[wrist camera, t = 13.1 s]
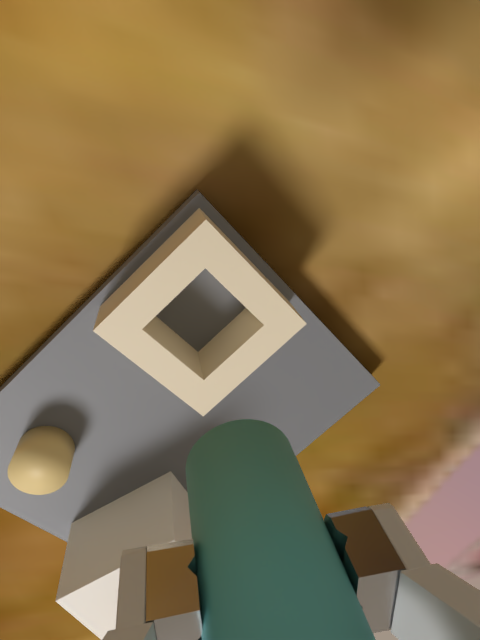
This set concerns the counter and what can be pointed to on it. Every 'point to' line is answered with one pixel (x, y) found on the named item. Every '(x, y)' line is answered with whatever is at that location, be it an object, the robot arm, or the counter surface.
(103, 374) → the board
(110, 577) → the cover
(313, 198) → the counter surface
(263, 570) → the pin
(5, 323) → the counter surface
